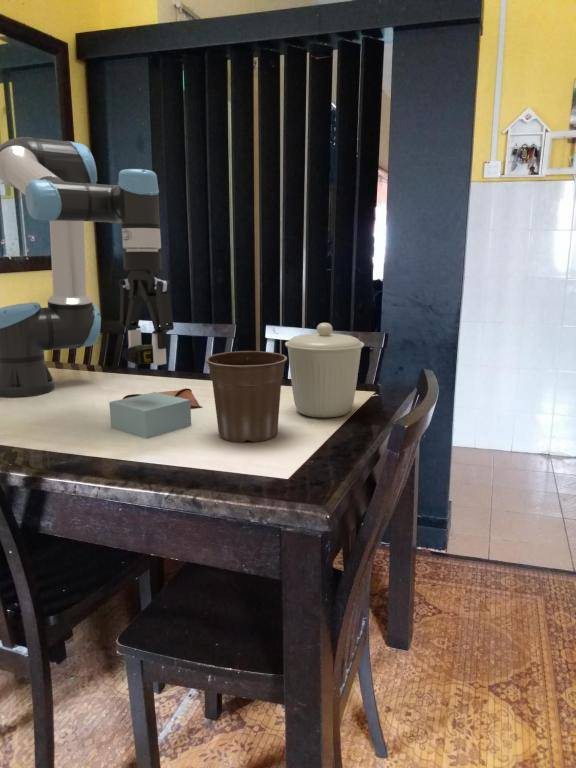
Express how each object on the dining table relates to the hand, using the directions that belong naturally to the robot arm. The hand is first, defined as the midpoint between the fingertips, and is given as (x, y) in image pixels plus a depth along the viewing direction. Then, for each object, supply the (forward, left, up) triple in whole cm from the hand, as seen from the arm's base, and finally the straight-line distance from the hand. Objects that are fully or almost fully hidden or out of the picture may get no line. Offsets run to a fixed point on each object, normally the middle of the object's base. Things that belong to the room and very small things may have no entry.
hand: (147, 362), depth 125 cm
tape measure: (0, -2, -1) cm, 2 cm away
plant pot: (+20, +9, -14) cm, 26 cm away
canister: (+22, +33, -14) cm, 42 cm away
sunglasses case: (-10, +12, -15) cm, 22 cm away
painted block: (0, 0, -15) cm, 15 cm away
